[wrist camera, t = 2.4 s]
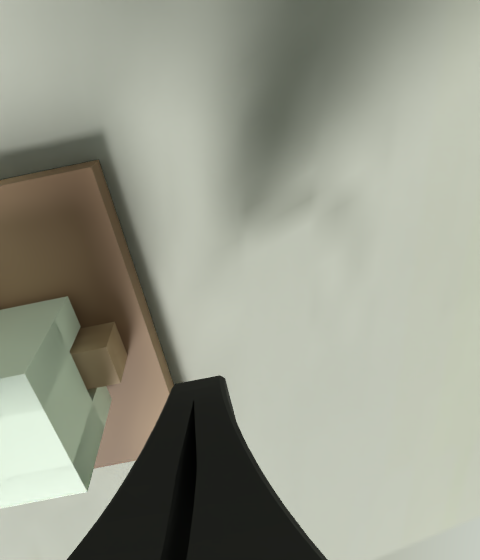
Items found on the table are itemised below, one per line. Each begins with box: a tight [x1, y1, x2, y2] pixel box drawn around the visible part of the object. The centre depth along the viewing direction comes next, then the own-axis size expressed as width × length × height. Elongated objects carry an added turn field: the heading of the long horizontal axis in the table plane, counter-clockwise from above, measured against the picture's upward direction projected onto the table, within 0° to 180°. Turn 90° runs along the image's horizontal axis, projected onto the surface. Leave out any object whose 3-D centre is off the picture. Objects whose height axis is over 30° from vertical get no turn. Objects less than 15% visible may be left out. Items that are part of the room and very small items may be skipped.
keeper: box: [0, 296, 112, 509], centre depth 14 cm, size 4×4×4 cm
